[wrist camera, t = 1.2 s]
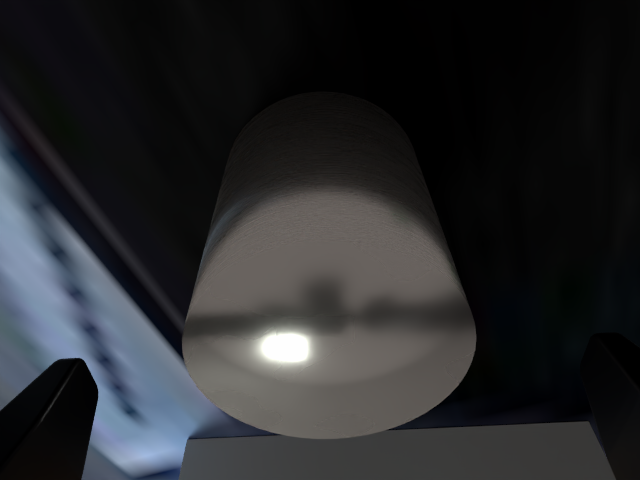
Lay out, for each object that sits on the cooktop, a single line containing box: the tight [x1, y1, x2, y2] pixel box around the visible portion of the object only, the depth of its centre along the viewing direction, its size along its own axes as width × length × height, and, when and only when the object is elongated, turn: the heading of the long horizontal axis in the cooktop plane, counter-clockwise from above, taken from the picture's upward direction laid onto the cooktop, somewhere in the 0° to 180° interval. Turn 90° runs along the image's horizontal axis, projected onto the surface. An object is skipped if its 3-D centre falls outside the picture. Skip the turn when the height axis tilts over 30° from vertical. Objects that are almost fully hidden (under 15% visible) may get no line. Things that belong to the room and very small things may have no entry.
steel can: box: [182, 92, 476, 439], centre depth 12 cm, size 5×5×6 cm
